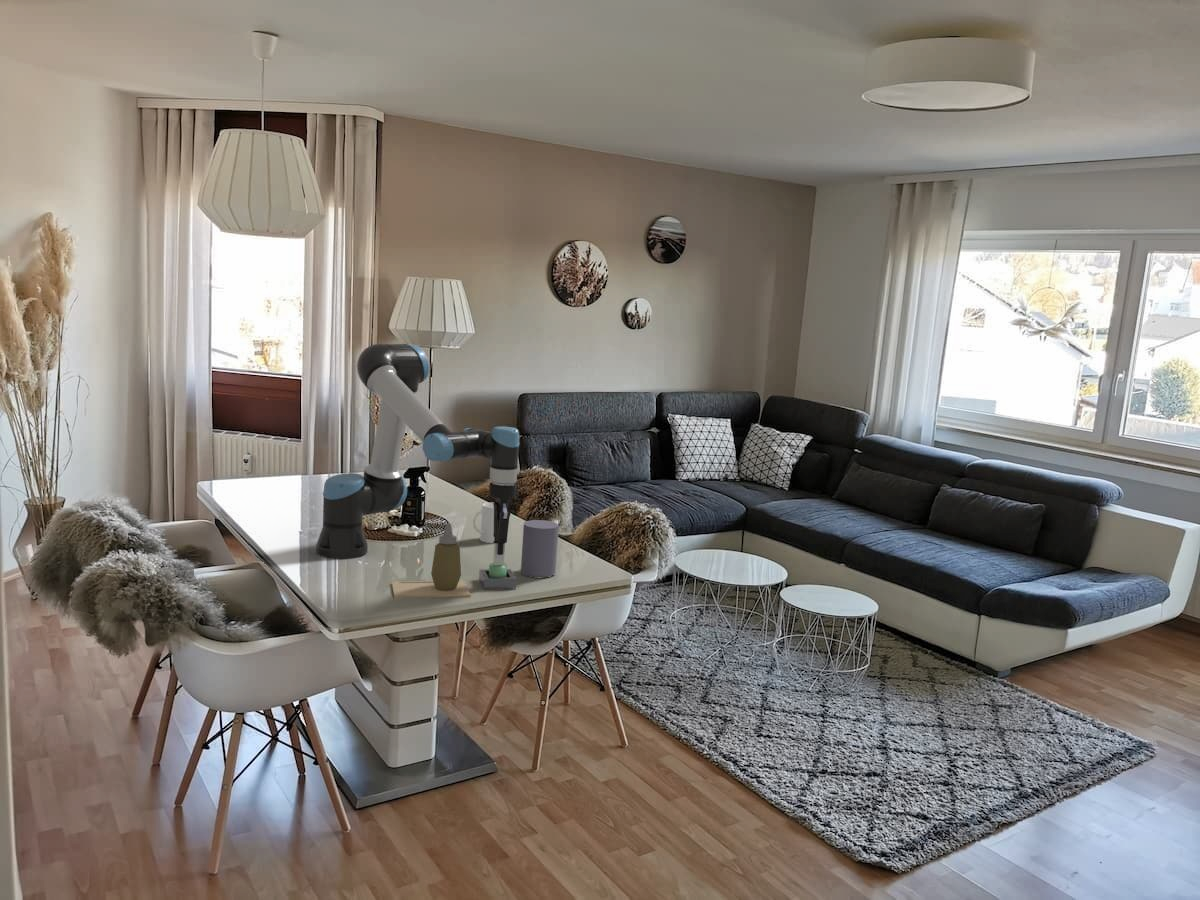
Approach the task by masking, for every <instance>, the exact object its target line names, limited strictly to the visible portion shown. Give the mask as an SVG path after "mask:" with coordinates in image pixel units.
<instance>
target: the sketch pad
mask: <svg viewBox="0 0 1200 900" xmlns="http://www.w3.org/2000/svg"><path fill="white" fill-rule="evenodd" d="M391 586H392V593H393V598H394V599H400V598H401V599H404V598H405V599H406V598H408V599H409V598H410V599H411V598H447V597H449V598H451V597H456V598H457V597H460V598H461V597H471V593H470V589H469V588H468V585H467V584H466V581H465V580H459V582H458V584H457V587H456V588H455V589H452V590H440V589H437V588H435V586H434V582H433V580H419V581H418V580H417V581H415V580H414V581H403V580H402V581H391Z"/></svg>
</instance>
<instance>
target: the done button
mask: <svg viewBox="0 0 1200 900" xmlns="http://www.w3.org/2000/svg"><path fill="white" fill-rule="evenodd" d="M488 568H489V578H495V577H507V569H508V565H507V564H506V563H504V565H500V566H494V564H493V562H492V563H490V564H489V567H488Z"/></svg>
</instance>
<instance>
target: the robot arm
mask: <svg viewBox="0 0 1200 900" xmlns="http://www.w3.org/2000/svg"><path fill="white" fill-rule="evenodd" d="M356 363H357V364H356V368H357V369H356V371H357V374H358V377H359V379H360V381H361V383H362V384H363V385H364V386H365V387H366V388H367V390H368V391H369V392H371V393H372V394H377V395H378V396H379V398H381V401H380V405H379V410H378V411H379V413H378V419H377V424H376V430H375V435H374V436H375V437H374V443H373V448H372V454H371V460H370V463H369V464H368V465H366V466H365V467H364V471H363V475H362V474H360V473H359V474H358V473H353V472H352V473H349V472H348V473H341V474H340V473H339V474H335V475H332V476H330V477H328V478H327V479H326V480H325V481H324V483H323V484H324V485H323V491H322V497H323V498H322V499H323V504H322V529H321V531H320V533H319V536H318V539H317V542H316V543H315V544H316V545H315V553H316V555H319V556H321V557H325V558H328V559H329V558H331V559H353V558H358V557H362V556H364V555H367V553H368V547H369V546H368V545H369V544H368V542H367V539H366V535H365V531H364V529H363V528H364V527H363V522H364V521H363V519H364V516H368V515H375V514H381V513H388V512H392V511H395V510H397V509H399V508H400V507H401V506H402V505H403V504H404V502H405V501H406V499H407V496H408V486H407V485H406V484H407V481H406V479H405V478H404V477H403V472H402V471H401V469H400V468H399V467H400V461H401V455H402V450H403V445H404V439H405V438H404V437H405V434H406V428H407V427H408V428H410V430H411V431H412V432H413V433H414V434H415V435H416V436H417V437H418V438H419V440H420V441H422V445H421V446H422V447H421V448H422V451H423V452H424V456H425V457H426V459H428V460H429V461H431V462H446V461H453V460H460V459H468V458H484V459H489V460H490V464H489V465H490V467H489V481H490V483H489V487H488V496H490V498H493V499H495V501H494V502H493V503H494V504H493V505H494V534H493V536H494V537H495V538H494V540H495V541H493V542H494V543H493V544H494V546H493V547H494V549H493V562H492V563H493V564H494V566H500V565H504V564H505V551H506V544H507V542H508V533H509V524H510V523H509V522H510V517H511V504H509V500H510V499H514V498H516V496H517V484H516V483H517V481H518V479H517V478H518V475H519V474H520V471H519V470H518V465H519V463H518V462H519V450H520V444H521V443H520V432H519V430H518V428H517V427H512V426H505V425H504V426H503V425H502V426H495V427H493V428H492V431H488V430H482V429H479V428H476V427H473V428H472V427H471V428H470V427H466V428H464V429H462V430H461V431H451V430H450V429H449V428H448V427H447V426H446V425H445V424H444V423H443V422H442V421H441V420H440V419H439V417H437V416H436V414H435V413H433V412H432V410H431V409H430V408H429V407H428V406H427V405H426V404H425V403H424V402H423V401H422V400H421V399H420V398H419V397H418V396H417V395H416V394H417V392H418V389H419V384H422V383H424V382H425V381H426V379H427V378H428V377H429V374H430V362H429V359H428V356H427V355H426V352H425V351H424V349H422V348H421V347H420V346H418V345H415V344H409V343H375V344H371V345H369V346H368V347H365V349H364V350H362V352H361V353H360V355H359V357H358V360H357V362H356Z"/></svg>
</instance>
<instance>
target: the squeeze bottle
mask: <svg viewBox="0 0 1200 900" xmlns="http://www.w3.org/2000/svg"><path fill="white" fill-rule="evenodd" d="M457 540H458V537H457V536H456V535H455V534H453V529H452V523H450V522H447V523H446V524H445V528H444V532H443V534H441V535H439V537H438V543H437V544H436V545H434V546H435V547H434V552H433V561H432V566H431V573H430V574H431V578H432V581H433V582H434V586H435V588H437V589H440V590H452V589H455V588H456V587H457V584H458V582H459V581H460V579H461V577H462V569H461V565H462V563H461V550H460V549H461V546H460V545H459V544H458V543H457Z"/></svg>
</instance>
